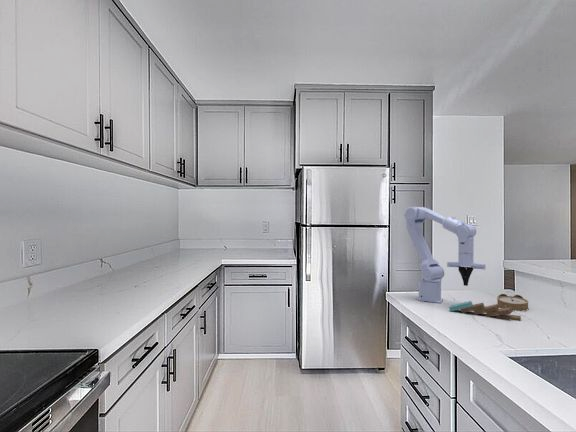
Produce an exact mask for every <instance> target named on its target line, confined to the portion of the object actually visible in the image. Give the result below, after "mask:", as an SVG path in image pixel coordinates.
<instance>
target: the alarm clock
mask: <svg viewBox="0 0 576 432" xmlns="http://www.w3.org/2000/svg"><path fill="white" fill-rule="evenodd" d="M496 297H497V298H496V302H497V303H496V304H497V305H498V307H499V309H500V308H508V307H512V310H513V311H515V310H516V311H519V312H520V311H521V312H522V311H523V310H525V311H528V310H529V301H528V300H527V299H525V298H524V297H523V296H522V295H520V294H516V295H515V294H514V295H513V296H512V295H507V294H506V293H500V294H499V295H498V296H496ZM527 309H528V310H527Z"/></svg>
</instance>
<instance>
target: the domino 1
mask: <svg viewBox="0 0 576 432" xmlns="http://www.w3.org/2000/svg"><path fill="white" fill-rule="evenodd" d="M484 307H485V304H484V302H480V303H474V304H473V305H472V306H471V307H468V308H464V309H460V311H461V313H462V314H465V313H469V312H474V311H475V310H480V309H483V308H484Z"/></svg>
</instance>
